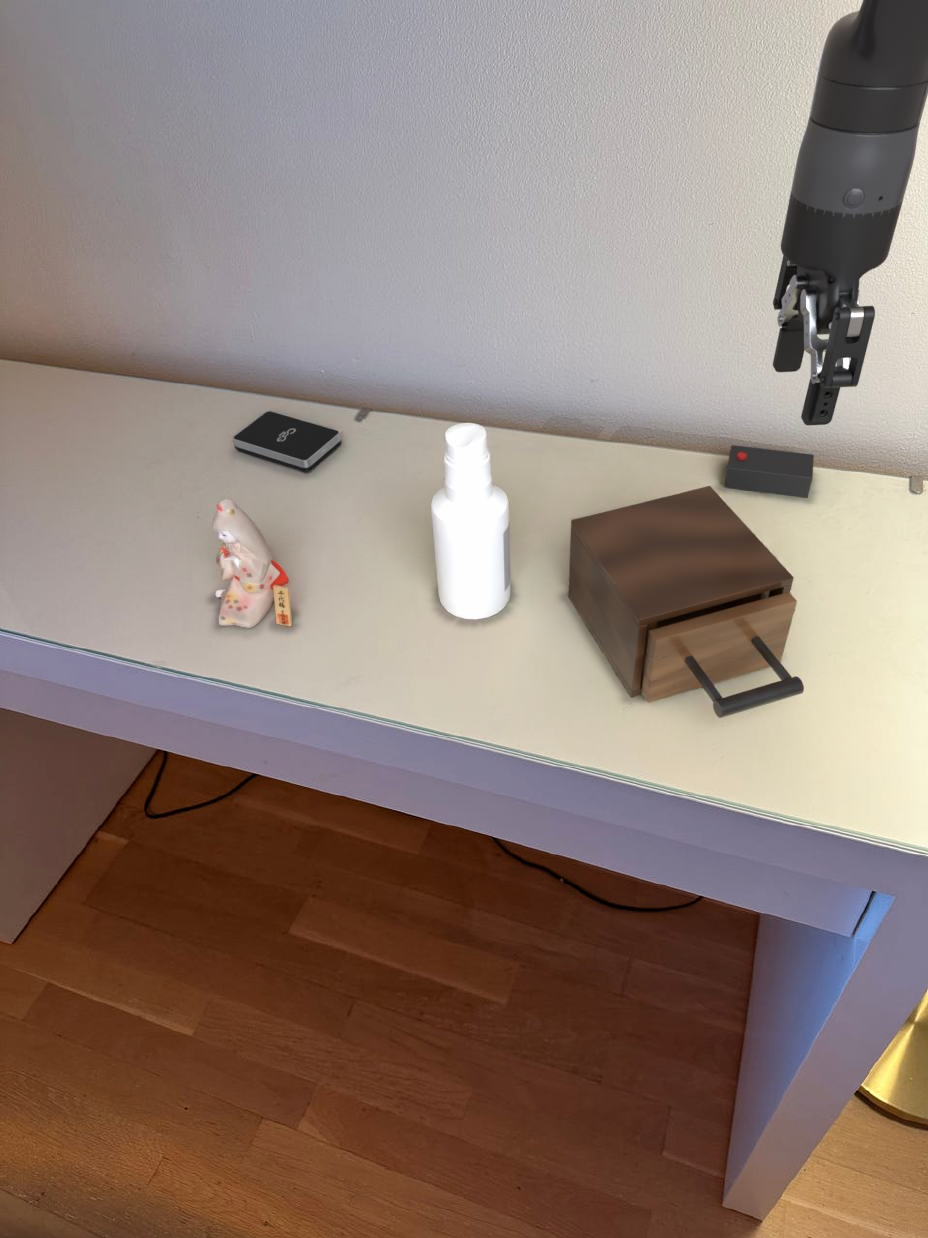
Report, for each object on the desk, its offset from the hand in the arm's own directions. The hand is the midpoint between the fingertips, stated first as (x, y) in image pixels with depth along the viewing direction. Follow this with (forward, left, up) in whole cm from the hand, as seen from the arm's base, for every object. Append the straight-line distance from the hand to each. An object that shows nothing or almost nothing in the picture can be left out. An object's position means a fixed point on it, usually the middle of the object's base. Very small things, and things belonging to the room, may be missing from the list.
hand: (799, 395), depth 76 cm
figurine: (+47, -12, -19) cm, 52 cm away
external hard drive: (+39, -38, -19) cm, 58 cm away
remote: (-8, -12, -19) cm, 24 cm away
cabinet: (+12, +4, -19) cm, 22 cm away
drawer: (+12, +9, -18) cm, 23 cm away
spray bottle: (+27, -6, -19) cm, 34 cm away
